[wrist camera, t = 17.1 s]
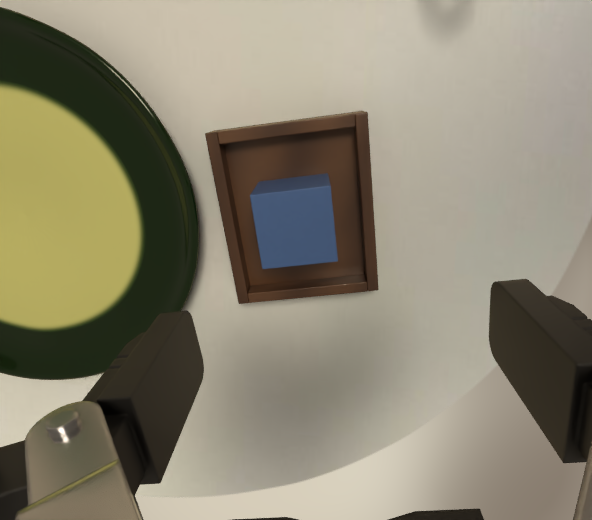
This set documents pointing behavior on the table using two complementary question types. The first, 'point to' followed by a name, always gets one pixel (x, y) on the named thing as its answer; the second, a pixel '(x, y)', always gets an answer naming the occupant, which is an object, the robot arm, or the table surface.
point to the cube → (294, 221)
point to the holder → (287, 164)
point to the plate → (83, 208)
